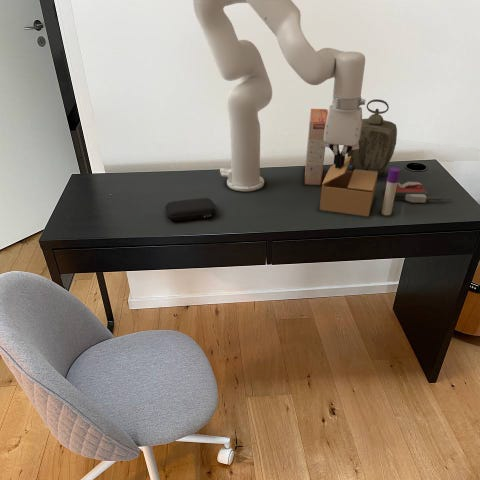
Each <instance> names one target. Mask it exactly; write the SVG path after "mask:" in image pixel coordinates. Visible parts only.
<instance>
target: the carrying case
mask: <svg viewBox="0 0 480 480" xmlns="http://www.w3.org/2000/svg"><path fill="white" fill-rule="evenodd" d="M164 209H165V212H166V216H167V219H168V220H170V221H172V222H182V221H190V220H198V219H207V218H211V217H214V216H215V215H216V214H217V208H216V206H215V204H214V201H213V200H212V199H211V198H209V197H200V198H191V199H184V200H183V199H182V200H181V199H180V200H174V201H169V202H167V203H166V205H165V206H164Z"/></svg>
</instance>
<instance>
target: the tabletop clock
mask: <svg viewBox="0 0 480 480" xmlns="http://www.w3.org/2000/svg"><path fill="white" fill-rule="evenodd" d="M376 102H377V103H382V104H384V105H385V106H386V110H383V111H379V110H380V109H379V108H375V110H373V109H371V108H369V105H370V104H371V103H376ZM366 109H367V111H368V112H370V113H371V115H369V117H368V118H362V128H361V136H360V140H359V143H360V147H359V149H356V150H351V151H349V152H348V153H347V154H346V158H347V157H349V156H351V159H350V162H349V164H348V165H350V166H351V171H354V169H357V168H358V169H362V170H365V171H381V175H382V176H386V175H387V171H386V168H387V166H388V165H389V163H390V162H391V160H392V158H393V156H394V153H395V149H396V146H397V138H398V128H397V124H396V123H394V122H393V121H390V120H385V119H384V118H383V116H382V114H385V113H387V112H388V111H389V109H390V106H389V104H388V103H387V101H385V100H383V99H372V100H369V101H368V102H367V104H366Z"/></svg>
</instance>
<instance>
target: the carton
mask: <svg viewBox="0 0 480 480" xmlns="http://www.w3.org/2000/svg"><path fill="white" fill-rule="evenodd" d="M378 175H379V172H378V171H375V170H368V171H366V169H357V168H356V169H354V170H346V172H345V174H343V175H341V176H339V177H337V178H335V179H333V180H331V181H329V182H327V183H325V184H321V190H320V191H321V192H320V201H319V202H320V203H319V211H326V212H334V213H341V214H347V215H356V216H360V217H361V216H363V217H369V216H370V213H371V209H372V205H373V201H374V198H375V192H376V185H377V180H378V177H379V176H378Z"/></svg>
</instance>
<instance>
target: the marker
mask: <svg viewBox="0 0 480 480" xmlns="http://www.w3.org/2000/svg"><path fill="white" fill-rule="evenodd" d="M400 174H401V168H398V167H396V166H395V167H394V166H391V167H389V169H388V174H387V178H386V187H385V191H384V196H383V201H382V207H381V214H382V215H383V216H391V215H392V212H393V206H394V202H395V200H394V197H395V192H396V187H397V183H399V178H400Z"/></svg>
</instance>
